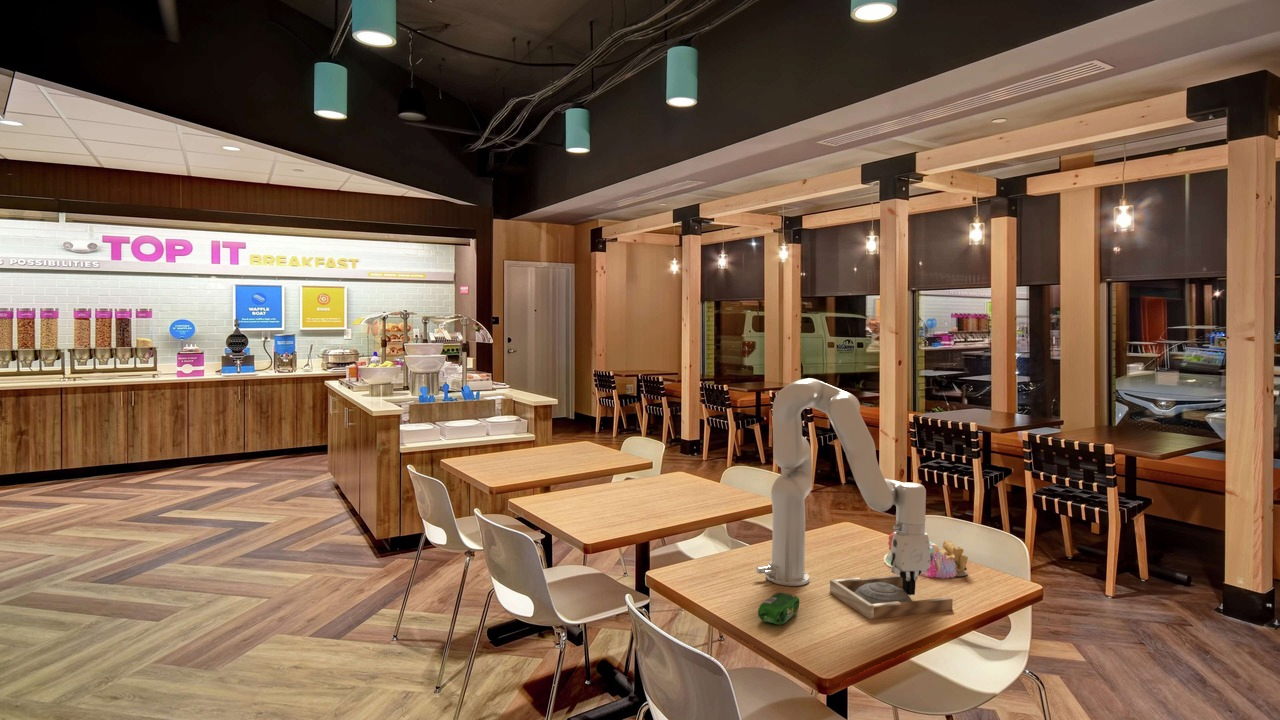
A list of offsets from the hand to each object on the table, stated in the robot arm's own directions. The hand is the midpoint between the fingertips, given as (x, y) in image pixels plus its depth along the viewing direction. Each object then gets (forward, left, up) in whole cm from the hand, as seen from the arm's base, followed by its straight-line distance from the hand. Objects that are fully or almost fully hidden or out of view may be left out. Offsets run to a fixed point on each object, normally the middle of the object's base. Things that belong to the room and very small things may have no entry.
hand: (908, 593), depth 194 cm
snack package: (-41, -3, -2) cm, 41 cm away
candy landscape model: (+23, +23, -2) cm, 32 cm away
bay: (-6, 0, -2) cm, 6 cm away
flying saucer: (-9, 0, -2) cm, 9 cm away
